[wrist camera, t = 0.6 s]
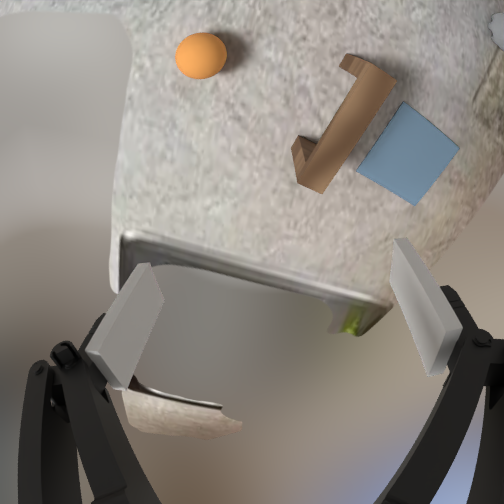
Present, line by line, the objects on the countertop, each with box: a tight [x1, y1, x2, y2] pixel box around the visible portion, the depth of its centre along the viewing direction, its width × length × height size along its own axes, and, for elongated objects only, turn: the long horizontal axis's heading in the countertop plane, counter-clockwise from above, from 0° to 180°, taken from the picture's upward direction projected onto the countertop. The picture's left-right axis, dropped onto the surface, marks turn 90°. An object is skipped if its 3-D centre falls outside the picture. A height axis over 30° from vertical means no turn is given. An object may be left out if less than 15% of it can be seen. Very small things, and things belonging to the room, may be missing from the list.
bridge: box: [291, 53, 397, 194], centre depth 29 cm, size 3×14×9 cm, turn 156°
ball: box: [175, 33, 227, 79], centre depth 27 cm, size 6×6×6 cm
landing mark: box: [356, 102, 460, 206], centre depth 36 cm, size 12×12×1 cm
